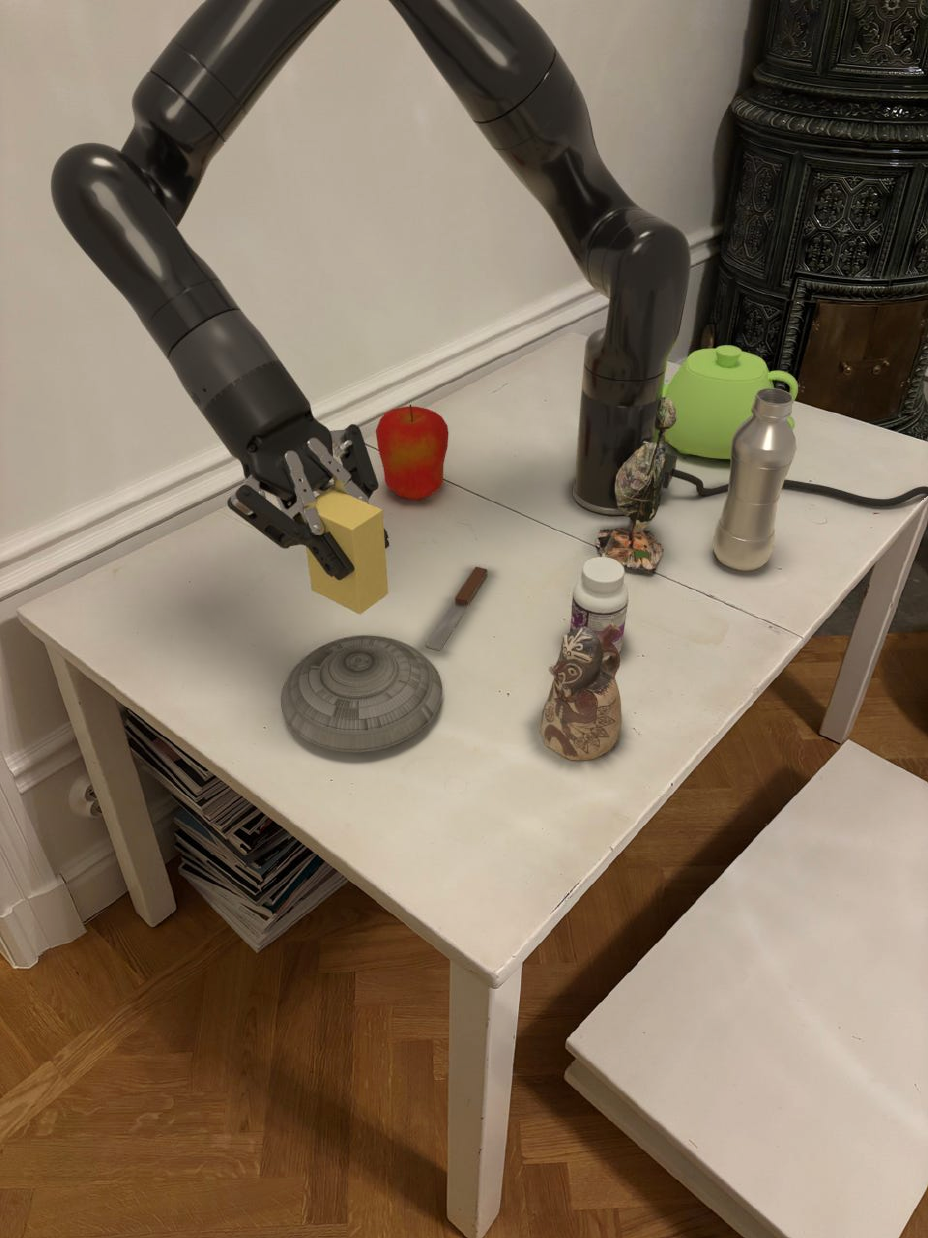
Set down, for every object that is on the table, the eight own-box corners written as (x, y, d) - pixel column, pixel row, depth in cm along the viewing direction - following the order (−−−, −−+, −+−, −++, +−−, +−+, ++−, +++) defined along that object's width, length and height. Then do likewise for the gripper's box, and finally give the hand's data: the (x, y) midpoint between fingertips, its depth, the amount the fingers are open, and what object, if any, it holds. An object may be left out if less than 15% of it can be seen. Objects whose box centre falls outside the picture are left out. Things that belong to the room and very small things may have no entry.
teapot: (613, 456, 124) (623, 362, 116) (631, 405, 135) (641, 316, 127) (786, 480, 119) (809, 383, 110) (790, 425, 130) (811, 334, 122)
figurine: (531, 710, 88) (536, 610, 80) (603, 698, 89) (615, 598, 81) (554, 767, 82) (562, 665, 75) (630, 753, 83) (646, 651, 76)
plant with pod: (676, 529, 111) (702, 369, 98) (652, 583, 102) (678, 416, 90) (609, 514, 113) (626, 357, 100) (581, 566, 105) (596, 401, 92)
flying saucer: (381, 787, 81) (376, 743, 77) (249, 722, 87) (239, 678, 83) (472, 684, 90) (472, 641, 87) (348, 632, 97) (343, 590, 93)
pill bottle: (564, 629, 97) (570, 553, 90) (615, 626, 97) (625, 550, 91) (573, 665, 92) (580, 587, 86) (627, 661, 93) (637, 584, 87)
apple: (371, 504, 115) (363, 416, 108) (393, 470, 121) (387, 385, 114) (438, 514, 113) (435, 425, 106) (457, 479, 120) (455, 393, 112)
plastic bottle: (736, 584, 102) (773, 417, 89) (697, 552, 107) (726, 389, 94) (781, 568, 104) (824, 402, 92) (741, 537, 109) (776, 376, 96)
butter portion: (340, 570, 83) (331, 487, 77) (388, 593, 80) (382, 509, 75) (311, 590, 80) (300, 506, 75) (360, 615, 78) (352, 529, 72)
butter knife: (474, 572, 104) (474, 565, 104) (488, 575, 104) (488, 569, 103) (425, 647, 95) (425, 640, 94) (440, 650, 94) (439, 644, 94)
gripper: (185, 395, 67) (325, 592, 69) (322, 331, 76) (443, 508, 78) (153, 439, 73) (283, 620, 75) (284, 376, 82) (398, 539, 84)
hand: (364, 562), depth 77 cm, fingers closed on butter portion, 3 cm apart
